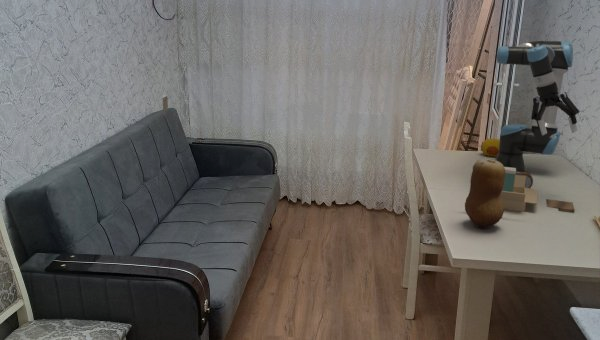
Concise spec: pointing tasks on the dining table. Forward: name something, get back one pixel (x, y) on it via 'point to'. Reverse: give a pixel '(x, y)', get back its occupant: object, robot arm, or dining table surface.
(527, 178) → the tin
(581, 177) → the dining table surface
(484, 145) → the lantern
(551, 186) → the dining table surface
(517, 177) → the carton
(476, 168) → the butternut squash
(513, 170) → the teal box
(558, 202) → the walnut board
